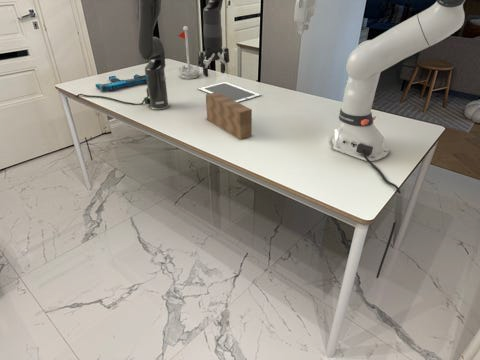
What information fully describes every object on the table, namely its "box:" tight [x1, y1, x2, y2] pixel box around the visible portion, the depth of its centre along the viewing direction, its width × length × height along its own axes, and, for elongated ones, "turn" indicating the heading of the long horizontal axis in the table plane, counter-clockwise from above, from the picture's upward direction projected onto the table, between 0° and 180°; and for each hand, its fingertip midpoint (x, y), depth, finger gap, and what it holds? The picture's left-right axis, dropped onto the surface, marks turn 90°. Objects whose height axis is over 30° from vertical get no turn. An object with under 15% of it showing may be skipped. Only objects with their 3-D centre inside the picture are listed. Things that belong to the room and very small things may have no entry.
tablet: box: [197, 81, 262, 103], centre depth 193 cm, size 32×20×1 cm, turn 41°
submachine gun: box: [94, 74, 147, 92], centre depth 207 cm, size 34×4×25 cm
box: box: [205, 92, 253, 140], centre depth 150 cm, size 27×6×12 cm, turn 36°
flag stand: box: [177, 25, 200, 80], centre depth 211 cm, size 13×13×30 cm
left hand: (214, 74), depth 148 cm, fingers open, 8 cm apart
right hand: (303, 31), depth 132 cm, fingers open, 8 cm apart
